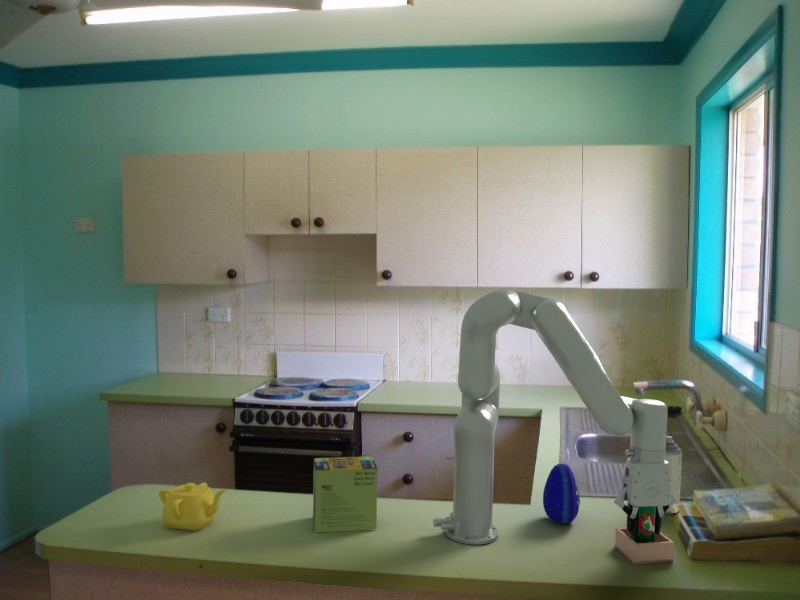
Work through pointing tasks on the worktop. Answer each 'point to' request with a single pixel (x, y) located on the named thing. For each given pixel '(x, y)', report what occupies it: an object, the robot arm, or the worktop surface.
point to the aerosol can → (674, 468)
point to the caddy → (644, 548)
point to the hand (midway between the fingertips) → (643, 531)
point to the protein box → (344, 494)
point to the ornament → (561, 495)
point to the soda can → (645, 525)
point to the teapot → (189, 506)
